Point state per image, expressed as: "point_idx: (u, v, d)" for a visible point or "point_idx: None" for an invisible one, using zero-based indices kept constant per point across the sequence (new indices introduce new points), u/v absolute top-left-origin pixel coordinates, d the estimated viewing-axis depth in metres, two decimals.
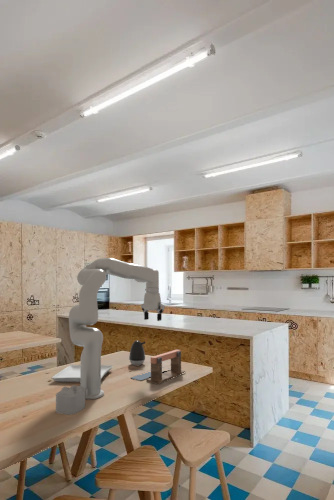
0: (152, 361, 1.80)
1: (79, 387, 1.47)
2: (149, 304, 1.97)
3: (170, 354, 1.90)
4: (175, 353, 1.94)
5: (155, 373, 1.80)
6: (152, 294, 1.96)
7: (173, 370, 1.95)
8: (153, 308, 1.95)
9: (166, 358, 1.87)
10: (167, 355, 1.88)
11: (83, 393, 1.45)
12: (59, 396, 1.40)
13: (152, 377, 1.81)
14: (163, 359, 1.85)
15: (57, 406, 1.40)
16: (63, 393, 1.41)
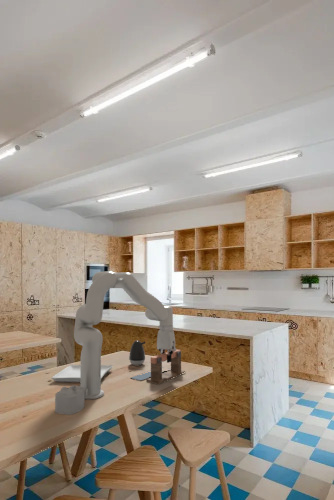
0: (152, 361, 1.80)
1: (78, 387, 1.47)
2: (163, 343, 1.88)
3: None
4: (175, 353, 1.94)
5: (155, 373, 1.80)
6: (166, 333, 1.87)
7: (173, 370, 1.95)
8: (167, 347, 1.86)
9: (166, 358, 1.87)
10: None
11: (82, 393, 1.45)
12: (58, 396, 1.40)
13: (152, 377, 1.81)
14: (163, 359, 1.85)
15: (56, 406, 1.40)
16: (62, 393, 1.41)
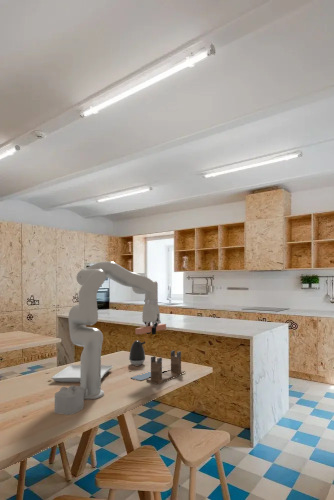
0: (137, 332, 1.88)
1: (78, 387, 1.47)
2: (148, 316, 1.96)
3: None
4: (160, 326, 2.01)
5: (155, 373, 1.80)
6: (151, 306, 1.95)
7: (173, 370, 1.95)
8: (152, 320, 1.94)
9: (151, 330, 1.95)
10: None
11: (82, 393, 1.45)
12: (58, 396, 1.40)
13: (152, 377, 1.81)
14: (148, 331, 1.92)
15: (56, 406, 1.40)
16: (62, 393, 1.41)
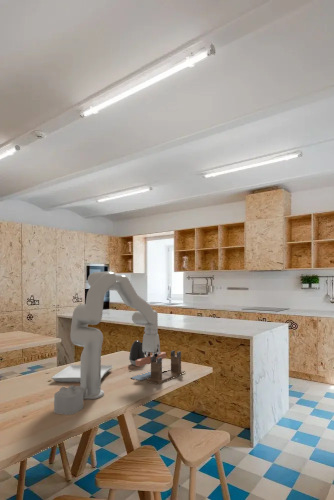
0: (137, 364, 1.86)
1: (77, 387, 1.47)
2: (148, 346, 1.94)
3: None
4: (160, 356, 2.00)
5: (155, 373, 1.80)
6: (151, 336, 1.93)
7: (173, 370, 1.95)
8: (152, 351, 1.92)
9: None
10: None
11: (81, 393, 1.45)
12: (58, 396, 1.40)
13: (152, 377, 1.81)
14: (148, 362, 1.91)
15: (55, 406, 1.40)
16: (62, 393, 1.41)
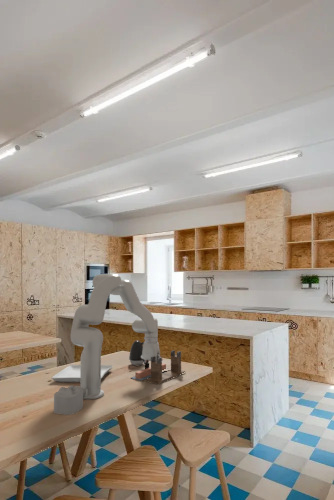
0: (137, 376, 1.86)
1: (77, 387, 1.47)
2: (148, 354, 1.94)
3: None
4: None
5: (155, 373, 1.80)
6: (151, 344, 1.93)
7: (173, 370, 1.95)
8: None
9: None
10: None
11: (81, 393, 1.45)
12: (57, 396, 1.40)
13: (152, 377, 1.81)
14: (148, 374, 1.91)
15: (55, 406, 1.40)
16: (61, 393, 1.41)
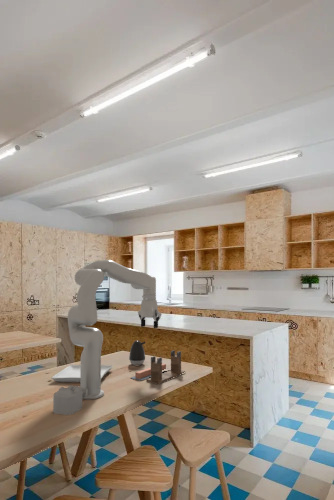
0: (137, 376, 1.86)
1: (76, 387, 1.47)
2: (146, 311, 1.95)
3: None
4: None
5: (155, 373, 1.80)
6: (149, 301, 1.95)
7: (173, 370, 1.95)
8: (150, 315, 1.93)
9: None
10: None
11: (81, 393, 1.45)
12: (57, 396, 1.40)
13: (152, 377, 1.81)
14: (148, 374, 1.91)
15: (55, 406, 1.40)
16: (61, 393, 1.41)
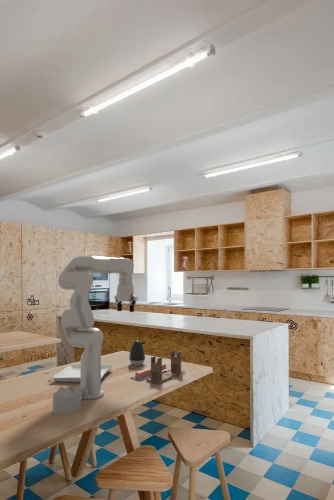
0: (137, 376, 1.86)
1: (76, 387, 1.47)
2: (122, 295, 1.93)
3: None
4: None
5: (155, 373, 1.80)
6: (125, 285, 1.92)
7: (173, 370, 1.95)
8: (125, 299, 1.91)
9: None
10: None
11: (80, 393, 1.45)
12: (56, 397, 1.40)
13: (152, 377, 1.81)
14: (148, 374, 1.91)
15: (54, 407, 1.40)
16: (60, 393, 1.41)
